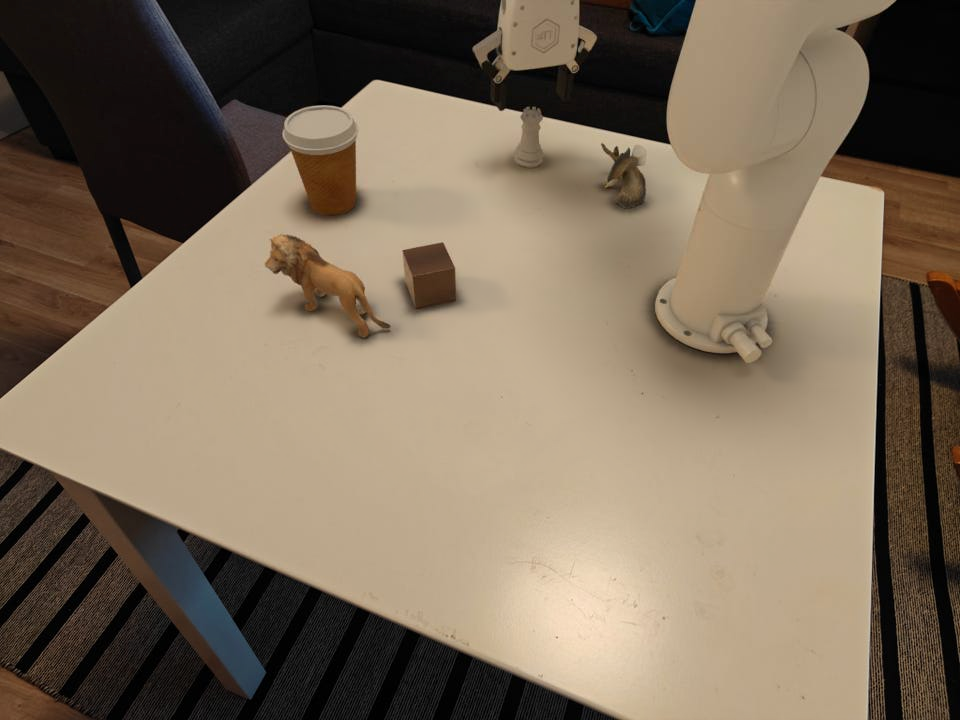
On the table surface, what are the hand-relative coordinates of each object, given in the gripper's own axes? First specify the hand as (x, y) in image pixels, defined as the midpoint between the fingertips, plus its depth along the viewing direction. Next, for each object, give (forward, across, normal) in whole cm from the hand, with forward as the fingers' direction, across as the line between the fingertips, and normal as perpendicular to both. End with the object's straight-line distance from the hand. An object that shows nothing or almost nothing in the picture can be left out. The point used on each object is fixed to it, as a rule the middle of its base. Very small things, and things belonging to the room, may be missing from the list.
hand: (531, 101), depth 92 cm
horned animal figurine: (+9, +10, -12) cm, 18 cm away
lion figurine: (+9, -34, -25) cm, 43 cm away
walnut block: (+9, -22, -25) cm, 34 cm away
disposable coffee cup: (+9, -30, -3) cm, 31 cm away
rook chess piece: (+9, 0, -1) cm, 9 cm away
